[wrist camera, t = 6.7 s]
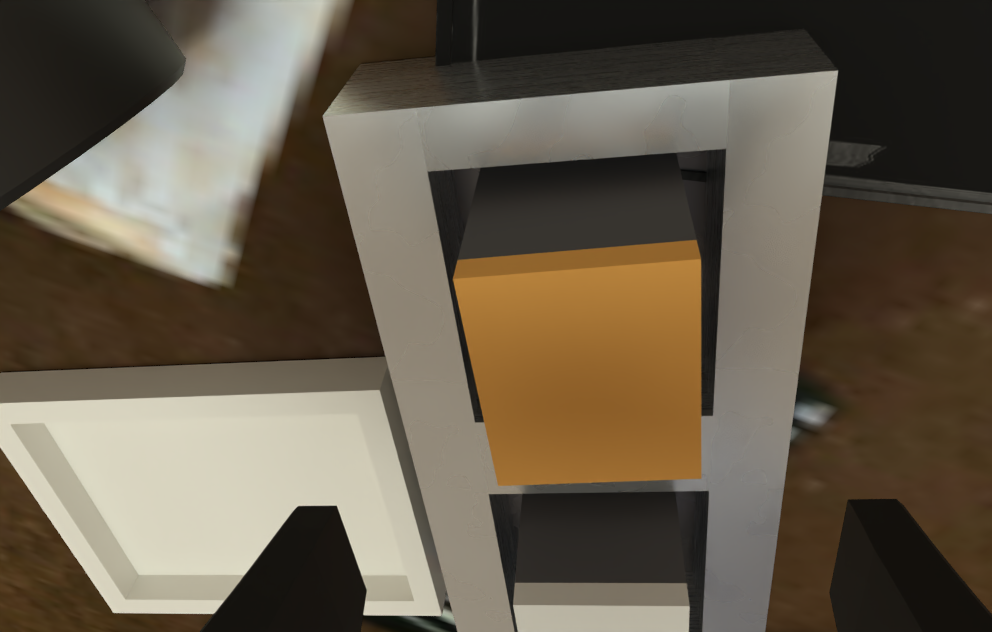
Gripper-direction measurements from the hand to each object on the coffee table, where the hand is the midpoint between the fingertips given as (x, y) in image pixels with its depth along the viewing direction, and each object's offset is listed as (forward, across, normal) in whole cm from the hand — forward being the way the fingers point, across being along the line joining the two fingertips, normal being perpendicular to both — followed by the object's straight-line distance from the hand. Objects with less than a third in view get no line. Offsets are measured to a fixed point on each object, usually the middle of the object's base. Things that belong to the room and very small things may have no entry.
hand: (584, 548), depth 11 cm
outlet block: (+9, 0, +4) cm, 10 cm away
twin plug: (+9, 0, +9) cm, 12 cm away
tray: (+9, +12, +8) cm, 17 cm away
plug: (+8, 0, 0) cm, 9 cm away
